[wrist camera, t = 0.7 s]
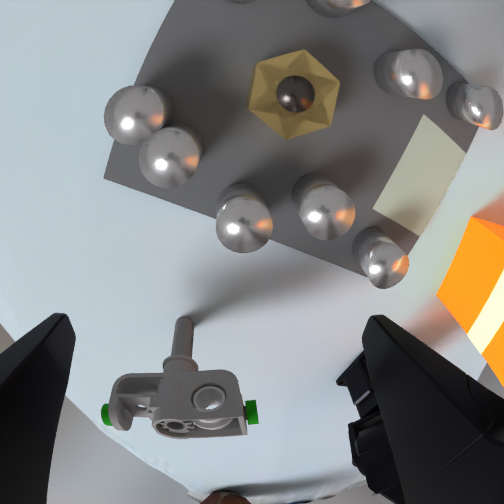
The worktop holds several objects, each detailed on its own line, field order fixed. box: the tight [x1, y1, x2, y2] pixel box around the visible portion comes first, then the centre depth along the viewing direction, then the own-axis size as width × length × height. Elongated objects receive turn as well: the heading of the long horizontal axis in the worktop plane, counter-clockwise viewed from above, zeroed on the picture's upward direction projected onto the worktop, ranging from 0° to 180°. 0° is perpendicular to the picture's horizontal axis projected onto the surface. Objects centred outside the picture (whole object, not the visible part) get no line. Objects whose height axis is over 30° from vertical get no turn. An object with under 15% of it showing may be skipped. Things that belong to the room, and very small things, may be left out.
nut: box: [245, 49, 340, 140], centre depth 15 cm, size 4×5×3 cm
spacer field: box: [104, 0, 503, 289], centre depth 15 cm, size 22×18×4 cm
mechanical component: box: [101, 317, 259, 439], centre depth 20 cm, size 3×10×10 cm, turn 94°
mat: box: [104, 0, 479, 277], centre depth 17 cm, size 23×18×1 cm
